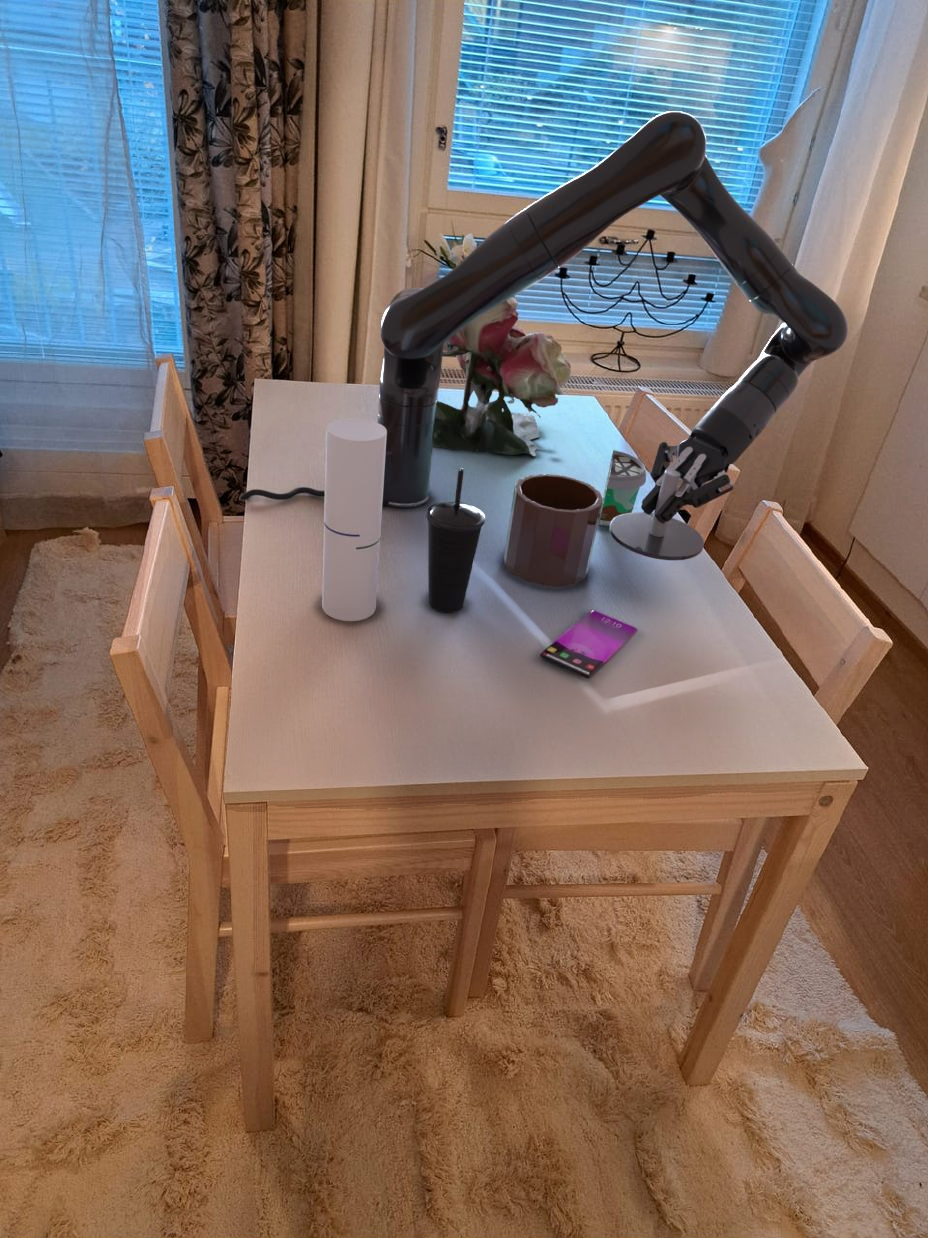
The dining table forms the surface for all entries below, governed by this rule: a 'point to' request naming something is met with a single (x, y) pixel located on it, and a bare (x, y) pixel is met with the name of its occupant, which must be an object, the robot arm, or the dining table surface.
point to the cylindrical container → (352, 517)
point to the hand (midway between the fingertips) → (652, 515)
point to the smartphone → (589, 643)
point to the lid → (657, 529)
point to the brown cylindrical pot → (552, 529)
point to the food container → (621, 486)
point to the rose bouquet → (500, 383)
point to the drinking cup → (451, 550)
